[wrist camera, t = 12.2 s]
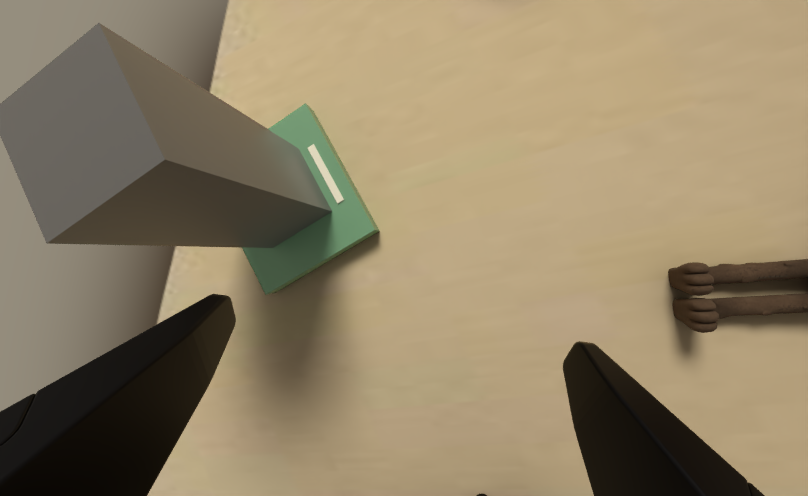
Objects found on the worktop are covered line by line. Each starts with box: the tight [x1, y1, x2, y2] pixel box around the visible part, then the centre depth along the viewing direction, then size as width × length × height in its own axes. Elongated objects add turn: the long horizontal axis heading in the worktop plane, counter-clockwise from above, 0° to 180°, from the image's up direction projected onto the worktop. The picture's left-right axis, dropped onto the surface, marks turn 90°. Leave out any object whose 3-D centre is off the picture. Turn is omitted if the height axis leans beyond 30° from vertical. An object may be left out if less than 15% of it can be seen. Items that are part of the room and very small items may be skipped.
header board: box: [242, 103, 379, 295], centre depth 22 cm, size 10×9×3 cm
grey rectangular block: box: [0, 23, 332, 248], centre depth 16 cm, size 5×5×12 cm
